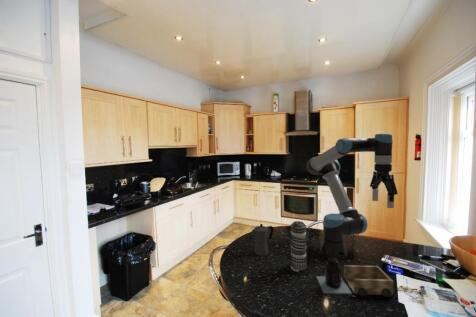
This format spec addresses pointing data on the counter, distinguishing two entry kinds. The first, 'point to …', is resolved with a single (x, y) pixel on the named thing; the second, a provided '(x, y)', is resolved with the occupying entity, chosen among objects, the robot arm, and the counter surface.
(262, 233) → the coffeepot
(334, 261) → the supplement bottle
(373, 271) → the truck bed
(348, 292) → the grey square plate
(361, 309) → the counter surface
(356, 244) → the counter surface
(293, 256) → the decorative candle
